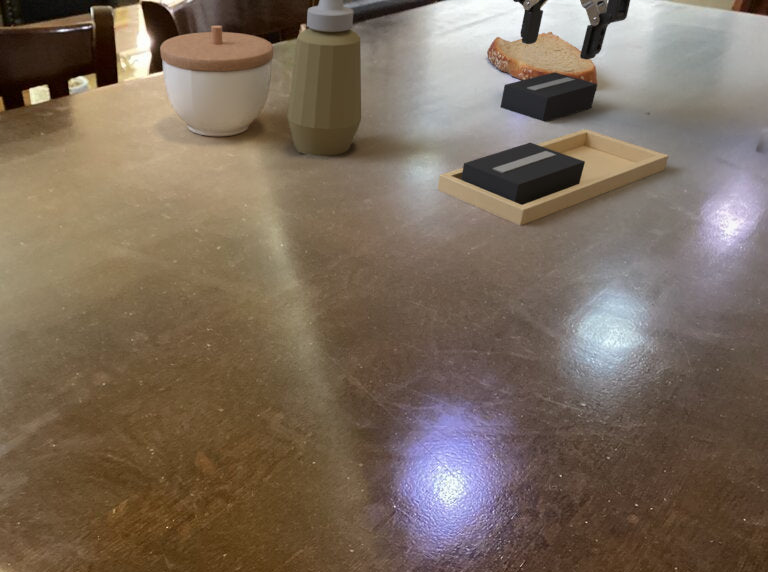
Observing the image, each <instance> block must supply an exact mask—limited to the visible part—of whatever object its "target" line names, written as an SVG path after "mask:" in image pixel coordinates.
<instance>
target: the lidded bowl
mask: <svg viewBox="0 0 768 572" xmlns="http://www.w3.org/2000/svg"><path fill="white" fill-rule="evenodd" d="M159 48H160V50H159V51H160V58H161V60H162V62H161V63H162V75H163V82H164V88H165V93H166V96H167V100H168V101H169V104H170V107H171V108H172V109H173V111H174V112H175V114H176V116H178V117H179V119H180V120H181V121H182V122H183V123H185V124H186V125H187V129H188V130H189V131H190V132H192V133H195V134H198V135H201V136H205V137H229V136H235V135H239V134H241V133H244V132H246V131H248V129H249V125H250V124H252V123H253V121H255V120H256V119H257V118H258V116H259V115H260V114H261V112H262V110H263V109H264V107H265V105H266V103H267V100H268V97H269V93H270V87H271V81H272V71H273V58H274V46H273V44H272V42H271V41H268V40H267V39H265V38H262V37H259V36H256V35H251V34H247V33H240V32H228V31H223V25H211V26H210V31H206V32H205V31H204V32H193V33H186V34H181V35H180V34H179V35H177V36H173V37H170V38H168V39H166V40H164V41H163V42H162V43H161V45H160V47H159Z"/></svg>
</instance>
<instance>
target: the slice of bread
mask: <svg viewBox="0 0 768 572" xmlns="http://www.w3.org/2000/svg"><path fill="white" fill-rule="evenodd" d="M486 54H487V58H488V61H489V62H490V63H491V65H492V66H494V67H495V68H496V69H497V70H498V71H501V72H503V73H507V74H508V75H510V76H511V77H513V78H516V79H518V80H520V81H522V80H526V79H530V78H534V77H538V76H542V75H546V74H550V73H554V72H555V73H559V74H563V75H566V76H570V77H574V78H577V79H581V80H585V81H588V82H592V83H596V84H597V85H598V79H597V78H598V75H597V68H596V65H595V64H594V62H593V60H592V59H587V60H586V59H582V58H581V57H580V54H581V50H580V49H579V48H578V47H576V46H573V44H571V43H569V42H568V41H566V40H564V39H562V38H561V37H560V36H559V35H556V34H553V32H552V31H548V32H547V33H546V32H542V33H539V34H538V38H537V41H536V42H535V43H531V44H525V43H522V38H520V39H517V40H516V39H515V40H513V41H510V40H506V39H504V38H502V37H500V36H496V38H494V40H493V41H492V42H491V43H490V45H489V47H488V49H487V52H486Z"/></svg>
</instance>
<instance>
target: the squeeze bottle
mask: <svg viewBox="0 0 768 572" xmlns="http://www.w3.org/2000/svg"><path fill="white" fill-rule="evenodd" d="M306 15H307V16H306V26H307V28H306V29H304V30H303V31H301V32H300V33H299V34H298V35H297V38H296V45H295V53H294V61H293V69H292V75H291V82H290V83H291V84H290V92H289V98H288V104H287V105H288V107H287V113H286V114H287V115H286V118H287V122H288V125H289V126H288V127H289V129H290V133H291V137H292V140H293V144H294V148H295V149H296V150H297V151H298V152H299V153H301V154H303V155H313V156H324V157H326V156H338V155H340V154H344V153H347V151H349V150H350V148H351V145H352V143H353V141H354V138H355V135H356V133H357V132H358V129H359V126H360V124H361V123H362V69H361V68H362V67H361V66H362V64H361V63H362V62H361V60H362V59H361V56H362V55H361V54H362V53H361V37H360V36H359V34H357V32H356V31H354V30H352V28H353V25H354V23H353V22H354V9H352V8H350V7H348V6H344V0H319V1H318V4H317V5H314V6H311V7H308V8H307V12H306Z"/></svg>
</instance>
